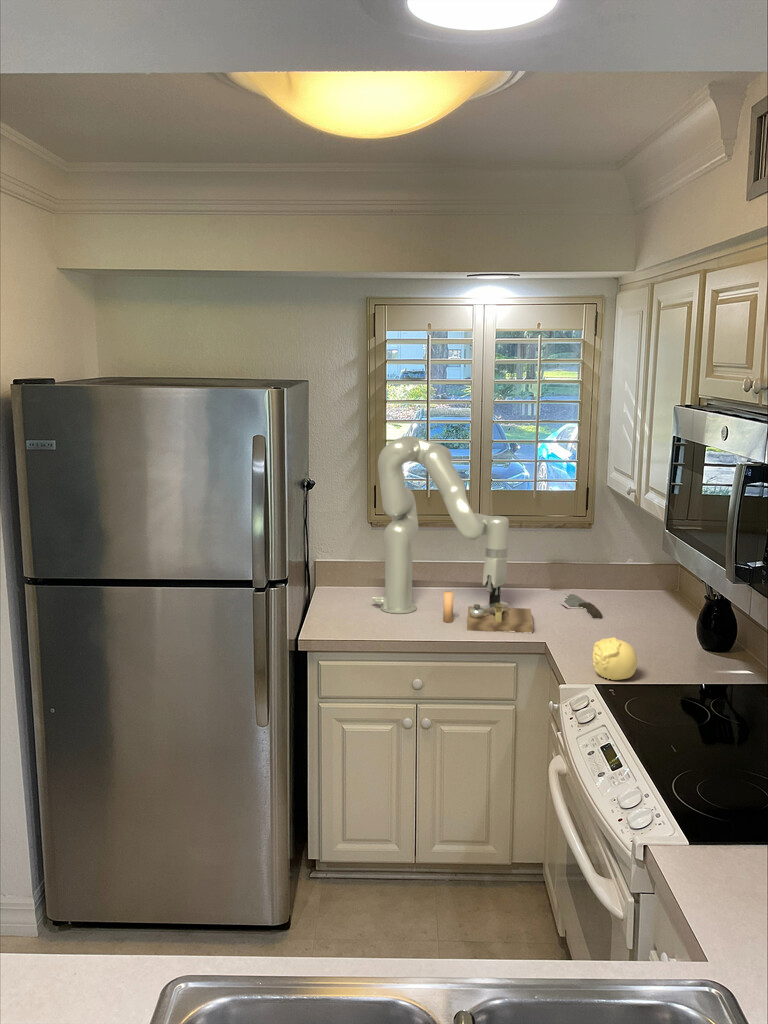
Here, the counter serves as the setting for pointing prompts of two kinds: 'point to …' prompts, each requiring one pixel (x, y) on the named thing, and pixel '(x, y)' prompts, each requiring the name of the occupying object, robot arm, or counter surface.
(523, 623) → the base plate
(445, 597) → the lock pin
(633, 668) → the sculpture
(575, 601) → the cleaver
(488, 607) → the latch bar
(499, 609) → the keeper
